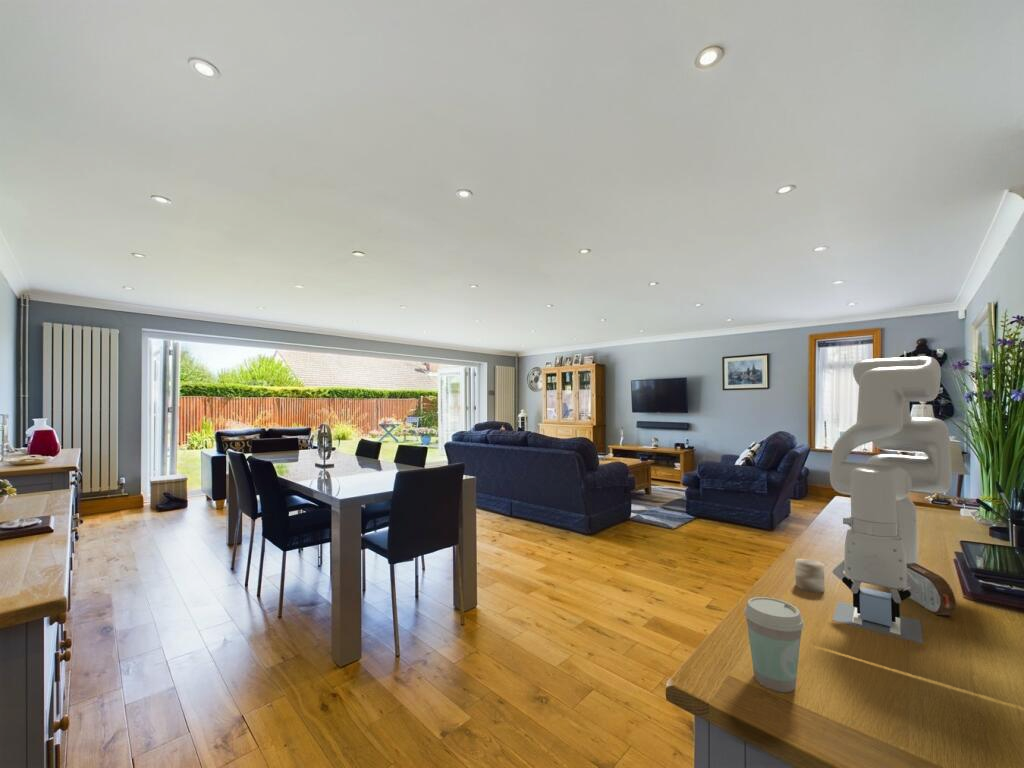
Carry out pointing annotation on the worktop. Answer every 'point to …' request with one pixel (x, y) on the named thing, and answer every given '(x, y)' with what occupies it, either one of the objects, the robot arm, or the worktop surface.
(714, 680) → the worktop surface
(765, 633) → the coffee cup
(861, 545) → the robot arm
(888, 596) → the blue cube
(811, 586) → the beige streaked cube
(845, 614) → the letter card
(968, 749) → the worktop surface
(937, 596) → the tin
